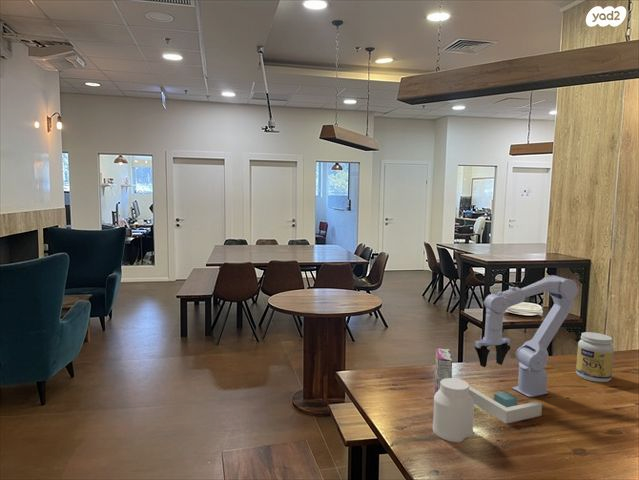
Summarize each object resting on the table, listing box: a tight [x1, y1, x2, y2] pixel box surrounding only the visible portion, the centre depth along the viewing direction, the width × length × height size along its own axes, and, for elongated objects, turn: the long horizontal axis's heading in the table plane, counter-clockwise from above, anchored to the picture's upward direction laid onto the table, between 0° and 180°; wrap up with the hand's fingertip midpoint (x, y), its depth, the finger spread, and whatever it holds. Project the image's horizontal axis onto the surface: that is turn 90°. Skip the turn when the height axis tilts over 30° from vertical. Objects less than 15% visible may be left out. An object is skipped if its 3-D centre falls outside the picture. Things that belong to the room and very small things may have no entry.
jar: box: [432, 377, 475, 443], centre depth 129 cm, size 12×10×15 cm
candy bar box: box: [434, 347, 453, 395], centre depth 151 cm, size 11×5×16 cm, turn 168°
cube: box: [493, 390, 518, 407], centre depth 144 cm, size 5×5×5 cm
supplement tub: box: [575, 331, 615, 383], centre depth 172 cm, size 12×12×17 cm
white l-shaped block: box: [469, 385, 543, 425], centre depth 147 cm, size 15×20×4 cm
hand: (491, 365), depth 156 cm, fingers open, 7 cm apart
